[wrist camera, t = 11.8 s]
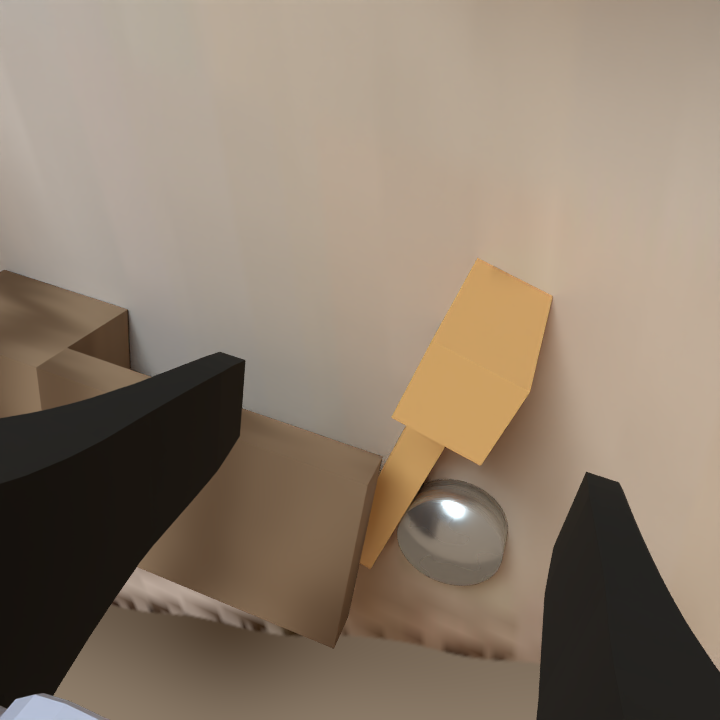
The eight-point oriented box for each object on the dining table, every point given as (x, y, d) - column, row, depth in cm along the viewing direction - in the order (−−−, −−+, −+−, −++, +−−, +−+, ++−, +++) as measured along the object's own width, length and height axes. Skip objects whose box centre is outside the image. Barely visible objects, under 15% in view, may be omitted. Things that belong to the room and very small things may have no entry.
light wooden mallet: (338, 521, 28) (277, 633, 23) (477, 258, 21) (431, 340, 16) (392, 551, 28) (342, 672, 23) (552, 296, 21) (529, 392, 16)
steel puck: (394, 525, 28) (382, 552, 26) (431, 459, 25) (420, 484, 24) (481, 571, 27) (474, 601, 26) (527, 508, 25) (521, 537, 24)
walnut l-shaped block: (26, 420, 32) (-62, 484, 28) (4, 269, 28) (-104, 317, 24) (376, 553, 28) (333, 648, 24) (411, 401, 24) (367, 485, 20)
